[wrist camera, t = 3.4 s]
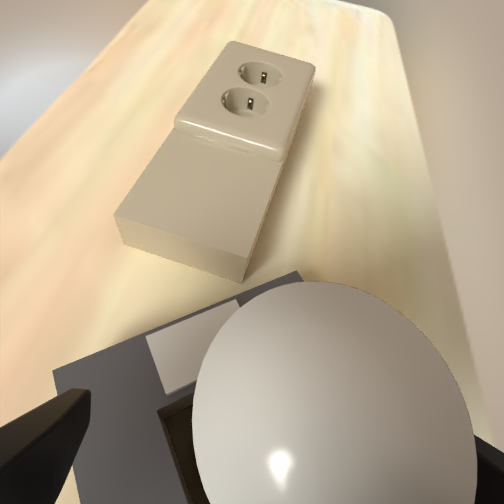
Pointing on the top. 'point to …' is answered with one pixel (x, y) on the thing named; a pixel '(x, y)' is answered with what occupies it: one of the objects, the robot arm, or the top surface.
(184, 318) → the socket block
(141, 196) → the electrical outlet
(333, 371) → the light bulb
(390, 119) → the top surface
